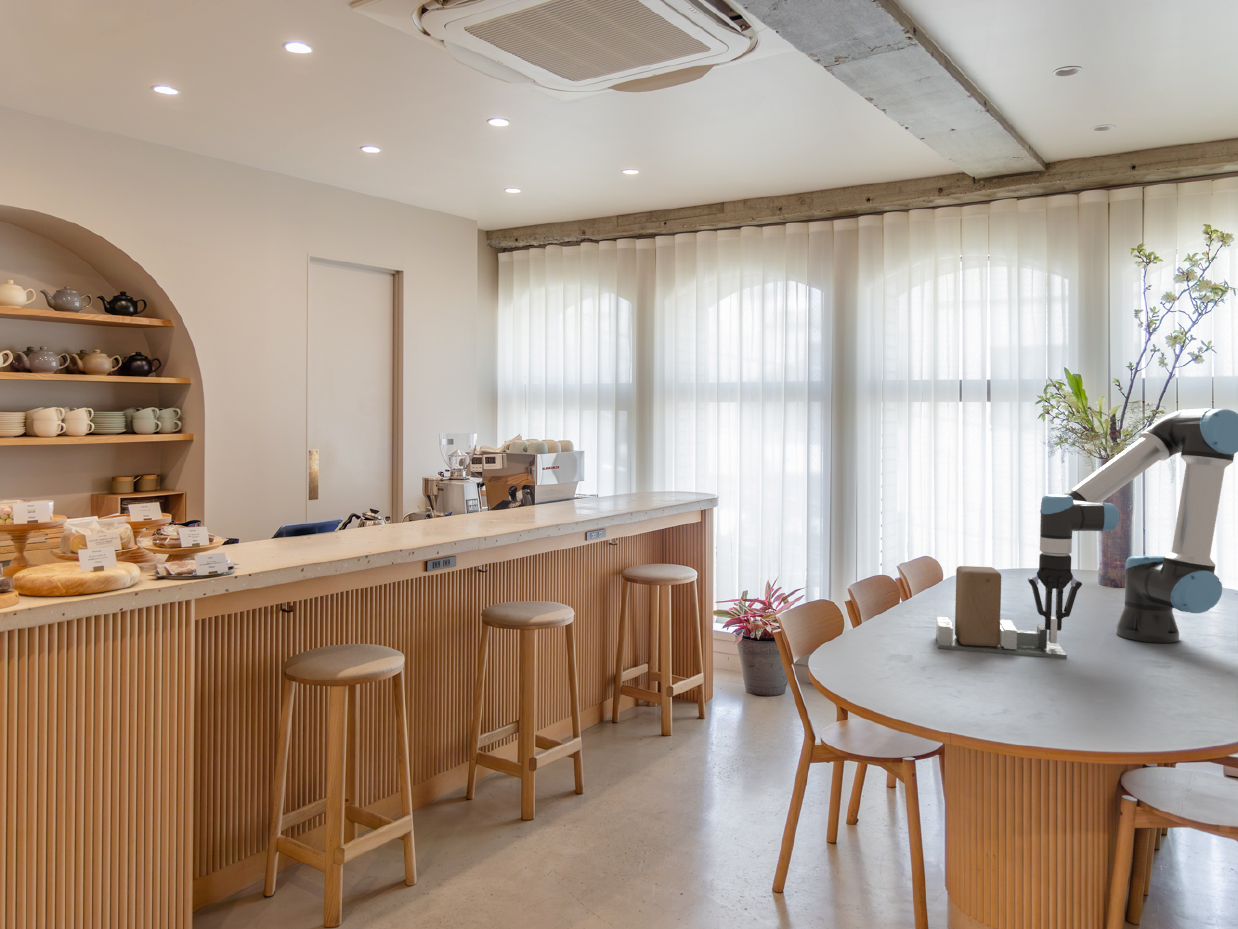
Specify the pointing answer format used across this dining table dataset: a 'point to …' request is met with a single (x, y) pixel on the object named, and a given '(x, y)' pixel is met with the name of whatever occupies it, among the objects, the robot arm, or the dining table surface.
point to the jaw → (1021, 636)
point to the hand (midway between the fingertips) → (1052, 642)
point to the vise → (952, 643)
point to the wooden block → (978, 606)
